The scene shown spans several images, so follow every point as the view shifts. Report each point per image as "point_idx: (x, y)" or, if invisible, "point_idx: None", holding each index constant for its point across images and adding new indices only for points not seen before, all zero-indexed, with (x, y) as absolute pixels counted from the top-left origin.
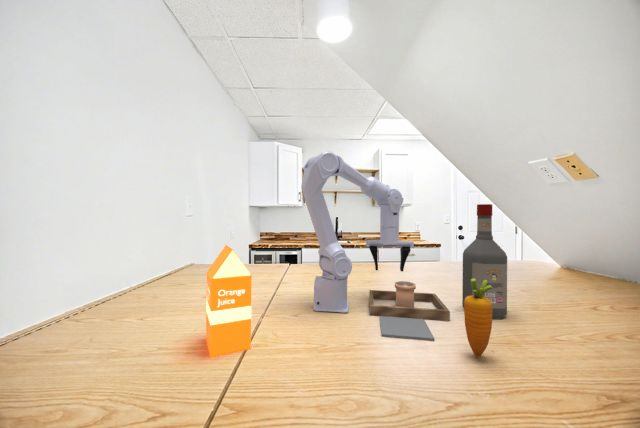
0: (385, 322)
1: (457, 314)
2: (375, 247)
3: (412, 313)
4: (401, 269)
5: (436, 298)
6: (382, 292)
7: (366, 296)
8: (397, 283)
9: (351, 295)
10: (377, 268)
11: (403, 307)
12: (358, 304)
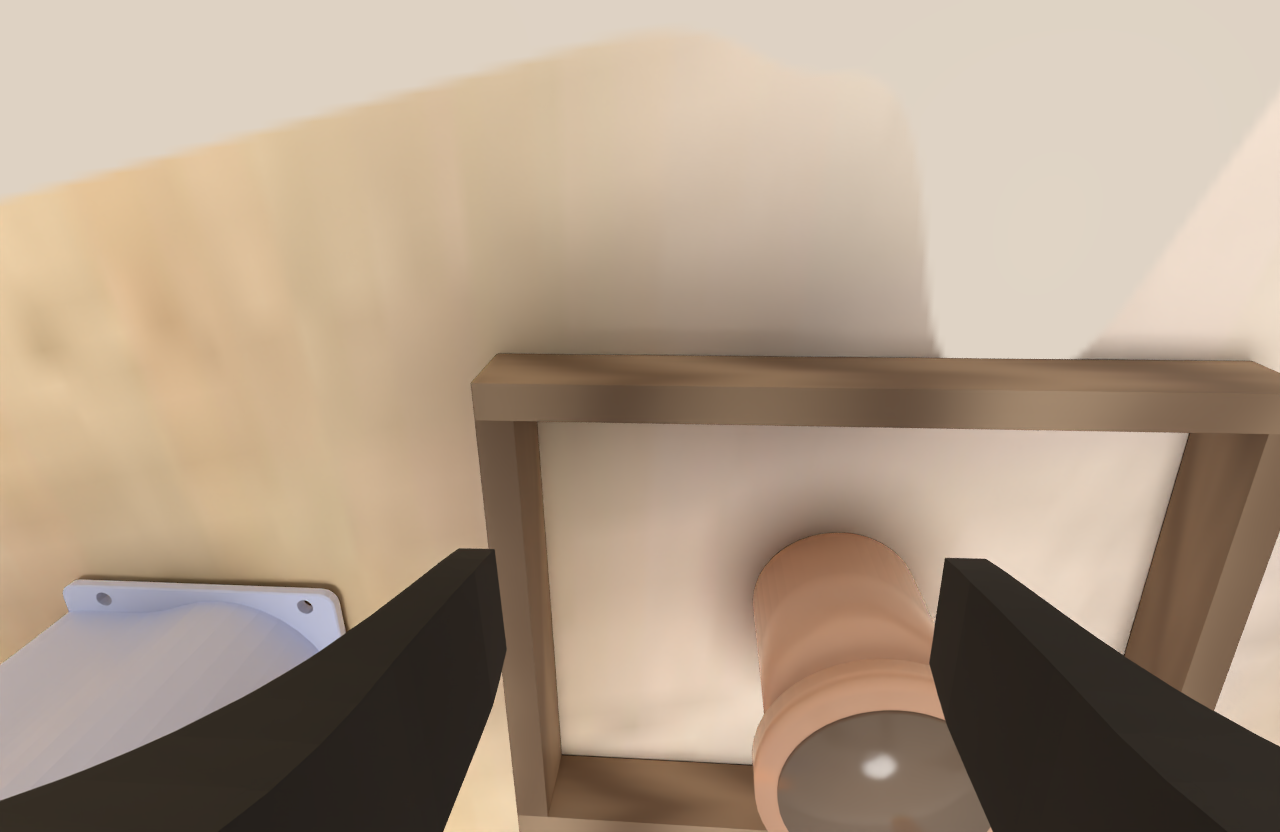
0: None
1: (1268, 683)
2: None
3: None
4: (947, 699)
5: (1227, 587)
6: (632, 416)
7: (457, 308)
8: (785, 813)
9: (286, 304)
10: (488, 681)
11: None
12: (417, 572)
